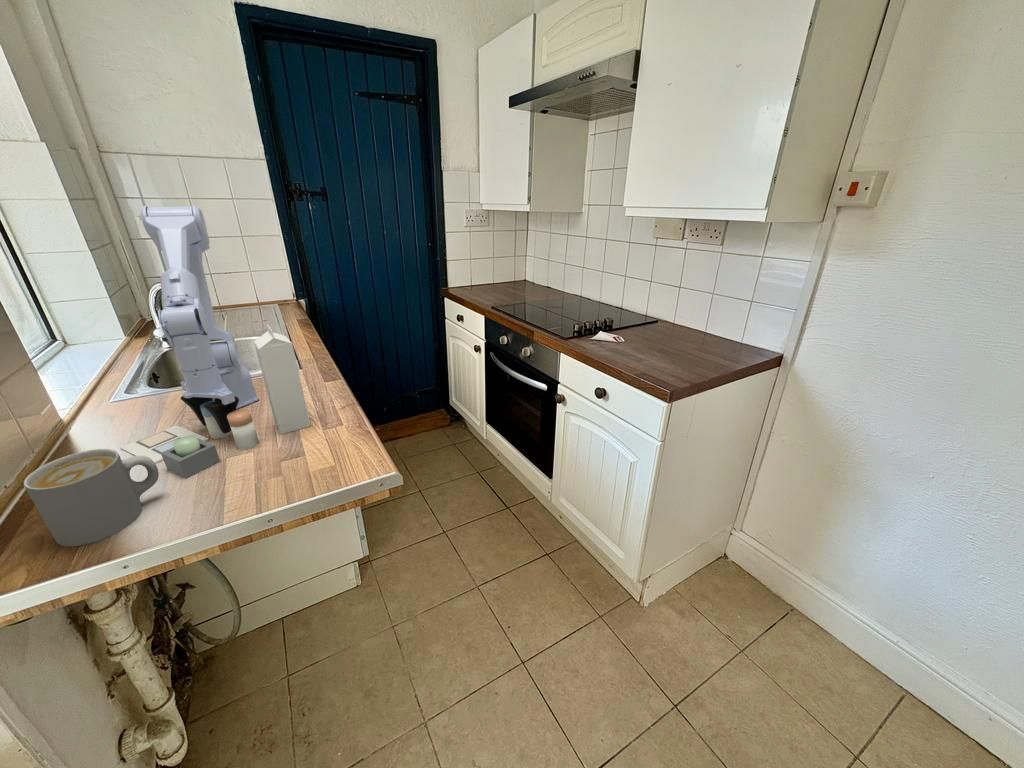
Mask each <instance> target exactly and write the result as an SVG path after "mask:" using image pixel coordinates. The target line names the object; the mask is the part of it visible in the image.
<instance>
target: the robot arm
mask: <svg viewBox="0 0 1024 768" xmlns="http://www.w3.org/2000/svg"><path fill="white" fill-rule="evenodd" d="M140 217H141V222H142V225H143V227H144V230H145V232H146V234H147V235H148V236H149V238H150V239H151V240H152V242H153V243H154V246H156V247H157V248H158V249H159V251H161V252H162V256H163V259H164V260H163V262H164V264H165V268H166V271H165V272H163V273H161V275H160V277H159V280H160V290H161V299H162V308H163V309H162V310H161V309H159V311H158V320H159V325H160V327H161V330H162V332H163V334H164V336H165V337H166V339H167V342H168V344H169V346H170V348H172V349H173V350H174V353H175V356H176V359H177V362H178V365H179V368H180V371H181V373H182V377H183V378H184V380H183V381H181V382H180V385H181V387H182V391H184V392H182V396H180V400H181V401H182V402H184V404H185V405H187V406H188V407H189V408H190V409H191V410H192V412H193V413H194V415H195V416H196V417H197V419H198V420H199V422H200V423H201V425H202V426H204V427H207V425H206V423H205V420H204V417H203V415H202V412H201V409H200V406H201V405H202V404H203V403H206V402H209V401H213V400H214V401H215V402H212V403H209V404H206V405H204V407H205V408H206V409H207V410H208V411H209V412H210V413H211V414H212V415H213V417H214V418H215V420H216V422H217V424H218V426H219V428H220V430H221V431H222V432H223V433H224V434H226V433H228V432H230V431H232V430H231V427H230V425H229V422H228V419H227V415H228V414H229V413H231V412H233V411H236V410H239V409H240V408H243V407H245V406H248V405H250V404H252V403H255V402H257V401H259V399H260V398H259V397H258V396H257V393H256V389H255V386H254V383H253V379H252V377H251V376H252V375H251V373H250V371H249V370H248V369H247V367H246V366H244V365H243V364H241V359H240V357H241V356H240V352H239V349H238V345H237V343H236V340H235V337H234V336H233V334H232V333H230V332H229V331H227V330H226V329H223V328H221V327H219V326H218V325H217V322H216V318H215V312H214V308H213V303H212V300H211V295H210V292H209V287H208V281H207V279H206V275H205V269H204V266H203V253H204V252H206V251H208V250H209V249H210V247H211V246H210V244H211V243H210V238H209V233H208V229H207V224H206V221H205V217H204V214H203V211H202V209H201V208H200V207H198V206H197V205H192V206H191V205H189V206H187V205H185V206H184V205H183V206H181V205H178V206H148V205H143V206H142V207H141V209H140Z"/></svg>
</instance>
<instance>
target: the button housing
mask: <svg viewBox="0 0 1024 768" xmlns="http://www.w3.org/2000/svg"><path fill="white" fill-rule="evenodd" d="M198 441H199V444H200V447H201V449H200V450H198V451H196V452H194V453H191V454H189V455H187V456H185V457H183V458H181V457H179V456H177V454H176V451H175V448H174V447H173V448H171V449H169V450H166V451H164V452H162V453H161V455H162V457H163V460H162V461H164V465H165V467H166V469H167V470H168V471H169V472H172V473H174V474H177V475H179V476H180V477H181V478H184V479H187V478H189V477H192V476H193V475H195V474H197V473H199V472H201V471H203V470H205V469H207V468H210V467H211V466H213V465H215V464H216V465H217V463H219V462H221V459H220V456H219V453H218V450H217V447H216V445H215V444H214V443H211V442H208V441H204V440H201V439H199V438H198Z"/></svg>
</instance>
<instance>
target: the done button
mask: <svg viewBox="0 0 1024 768" xmlns="http://www.w3.org/2000/svg"><path fill="white" fill-rule="evenodd" d="M173 446H174V448H175V451H176V454H177V456H179V457H181V458H183V457H185V456H187V455H189V454H191V453H194V452H196V451H198V450H200V449H201V447H200V444H199V441H198V438H197V436H194V435H190V436H184V437H181V438H179V439H177V440H175V441H174V442H173Z"/></svg>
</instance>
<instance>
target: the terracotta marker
mask: <svg viewBox="0 0 1024 768" xmlns="http://www.w3.org/2000/svg"><path fill="white" fill-rule="evenodd" d="M227 419H228V422H229V425H230V427H231V430H232V433H231V434H232V436H233V439H234V443H235V445H236V448H237V450H240V451H246V450H249V449H253V448H255V447H257V446H258V445H259V438H258V435H257V431H256V428H255V423H254V421H253V416H252V412H251V410H250V409H248V408H244V409H243V408H242V409H240V408H239V409H236V411H233V412H231V413H229V414H228V415H227Z"/></svg>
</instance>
